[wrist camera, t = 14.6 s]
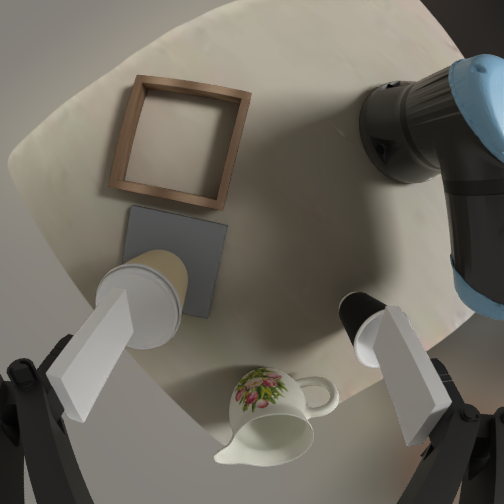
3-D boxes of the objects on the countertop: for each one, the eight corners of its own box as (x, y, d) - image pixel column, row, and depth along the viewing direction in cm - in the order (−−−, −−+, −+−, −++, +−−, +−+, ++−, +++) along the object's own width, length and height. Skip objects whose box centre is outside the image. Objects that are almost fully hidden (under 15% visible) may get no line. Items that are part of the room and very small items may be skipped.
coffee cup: (120, 250, 39) (81, 275, 28) (185, 235, 39) (165, 257, 28) (139, 314, 41) (110, 356, 30) (202, 303, 41) (191, 346, 30)
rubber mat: (227, 225, 40) (227, 226, 40) (208, 315, 43) (207, 318, 42) (133, 205, 39) (131, 205, 38) (121, 294, 42) (118, 297, 41)
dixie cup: (328, 334, 45) (353, 374, 34) (327, 285, 43) (354, 316, 32) (376, 325, 45) (409, 359, 34) (377, 277, 43) (414, 303, 33)
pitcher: (331, 386, 47) (357, 442, 34) (230, 420, 47) (231, 481, 34) (314, 334, 45) (342, 388, 31) (203, 373, 45) (194, 435, 32)
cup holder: (250, 99, 37) (251, 92, 34) (223, 208, 40) (222, 210, 37) (143, 81, 36) (136, 74, 33) (116, 186, 38) (108, 186, 36)
